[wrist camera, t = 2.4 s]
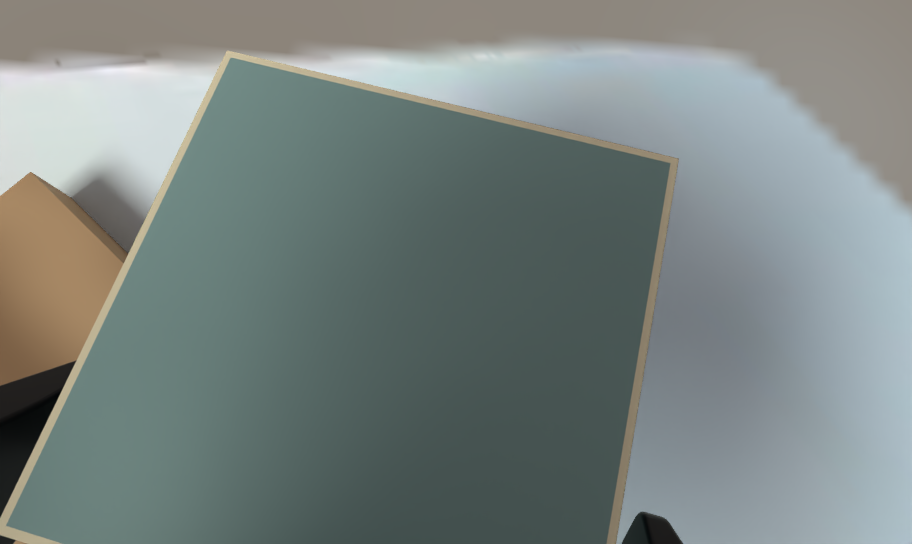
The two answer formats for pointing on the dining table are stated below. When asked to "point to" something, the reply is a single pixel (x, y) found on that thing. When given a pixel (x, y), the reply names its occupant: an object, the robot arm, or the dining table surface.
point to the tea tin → (362, 331)
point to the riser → (49, 278)
